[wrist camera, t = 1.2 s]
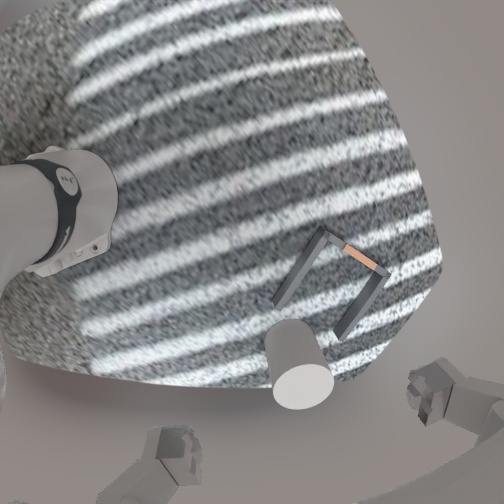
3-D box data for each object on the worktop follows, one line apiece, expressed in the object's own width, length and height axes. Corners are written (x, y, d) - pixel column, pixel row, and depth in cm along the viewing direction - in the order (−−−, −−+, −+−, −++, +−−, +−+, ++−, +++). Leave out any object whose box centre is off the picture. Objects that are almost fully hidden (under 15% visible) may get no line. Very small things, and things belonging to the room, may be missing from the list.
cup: (254, 346, 48) (260, 395, 37) (286, 310, 47) (302, 354, 35) (291, 367, 50) (305, 416, 38) (323, 334, 48) (346, 379, 37)
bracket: (337, 332, 48) (343, 343, 45) (272, 299, 46) (275, 309, 43) (383, 267, 46) (393, 275, 42) (320, 225, 43) (327, 231, 40)
